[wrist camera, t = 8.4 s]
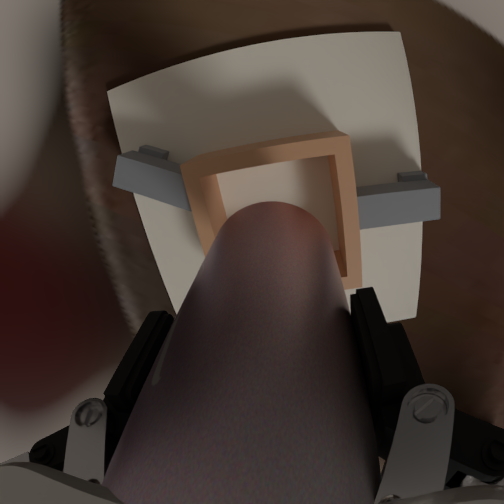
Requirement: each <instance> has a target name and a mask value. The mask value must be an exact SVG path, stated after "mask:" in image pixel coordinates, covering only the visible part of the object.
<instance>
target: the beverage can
mask: <svg viewBox="0 0 504 504" xmlns="http://www.w3.org/2000/svg"><path fill="white" fill-rule="evenodd" d="M380 482H381V473H380V465H379V458H378V450H377V444H376V437H375V431H374V425H373V419H372V413H371V408H370V403H369V397H368V392H367V387H366V382H365V377H364V372H363V367H362V362H361V358H360V353H359V349H358V344H357V340H356V335H355V331H354V327H353V323H352V319H351V314H350V310H349V306H348V302H347V298H346V294H345V291H344V287H343V283H342V279H341V276H340V272H339V268H338V265H337V261H336V258H335V254H334V251H333V247H332V244H331V241H330V238H329V236H328V233H327V232H326V230H325V228H324V227H323V225H322V224H321V223H320V222H319V221H318V220H317V219H316V218H315V217H314V216H313V215H312V214H310V213H309V212H307V211H306V210H304V209H302V208H300V207H298V206H295V205H293V204H289V203H285V202H278V201H266V202H259V203H255V204H251V205H249V206H246V207H244V208H242V209H240V210H238V211H237V212H235V213H234V214H233V215H232V216H230V217H229V218H228V219H227V220H226V222H225V223H224V224H223V225H222V227H221V228H220V230H219V232H218V234H217V236H216V238H215V240H214V241H213V243H212V245H211V247H210V249H209V251H208V253H207V255H206V257H205V259H204V261H203V263H202V265H201V267H200V269H199V271H198V273H197V275H196V277H195V279H194V281H193V283H192V285H191V287H190V289H189V291H188V293H187V295H186V297H185V299H184V301H183V303H182V305H181V307H180V309H179V311H178V313H177V315H176V317H175V320H174V322H173V324H172V326H171V328H170V330H169V332H168V334H167V336H166V338H165V340H164V343H163V345H162V347H161V349H160V351H159V353H158V355H157V357H156V360H155V362H154V364H153V366H152V368H151V370H150V373H149V375H148V377H147V379H146V381H145V384H144V386H143V388H142V390H141V392H140V395H139V397H138V399H137V401H136V404H135V406H134V408H133V410H132V413H131V415H130V417H129V419H128V422H127V424H126V426H125V429H124V431H123V433H122V436H121V438H120V440H119V443H118V445H117V447H116V450H115V452H114V455H113V457H112V459H111V462H110V464H109V467H108V469H107V471H106V474H105V476H104V479H103V481H102V484H101V486H104V487H108V488H109V490H110V491H111V492H112V493H113V494H114V495H115V496H116V497H117V498H118V499H119V500H121V501H122V502H124V503H125V504H375V503H374V502H375V499H376V495H377V492H378V489H379V485H380Z"/></svg>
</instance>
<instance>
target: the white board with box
mask: <svg viewBox="0 0 504 504" xmlns="http://www.w3.org/2000/svg"><path fill="white" fill-rule="evenodd" d="M107 94H108V99H109V103H110V108H111V112H112V116H113V120H114V124H115V129H116V133H117V136H118V140H119V144H120V148H121V152H122V154H120V155H118V156H117V162H116V168H115V173H114V180H113V186H115V187H118V188H121V189H124V190H127V191H130V192H133V194H134V197H135V200H136V203H137V206H138V210H139V213H140V216H141V219H142V222H143V225H144V228H145V231H146V234H147V237H148V240H149V243H150V246H151V249H152V251H153V254H154V257H155V260H156V263H157V265H158V268H159V271H160V273H161V276H162V279H163V281H164V284H165V287H166V289H167V292H168V294H169V297H170V300H171V302H172V305H173V307H174V310H175V312H176V314H177V313H178V311H179V309H180V307H181V305H182V303H183V301H184V299H185V297H186V295H187V293H188V291H189V289H190V287H191V285H192V283H193V281H194V279H195V277H196V275H197V273H198V271H199V269H200V267H201V265H202V263H203V261H204V259H205V257H206V255H207V253H208V251H209V249H210V247H211V245H212V243H213V241H214V240H215V238H216V236H217V234H218V232H219V230H220V228H221V227H222V225H223V224H224V223H225V222H226V220H227V219H228V218H229V217H230V216H232V215H233V214H234V213H235V212H237V211H238V210H240V209H242V208H244V207H246V206H249V205H251V204H255V203H259V202H266V201H278V202H285V203H289V204H293V205H295V206H298V207H300V208H302V209H304V210H306V211H307V212H309V213H310V214H312V215H313V216H314V217H315V218H316V219H317V220H318V221H319V222H320V223H321V224H322V225H323V227H324V228H325V230H326V232H327V233H328V236H329V238H330V241H331V244H332V247H333V251H334V254H335V258H336V261H337V265H338V268H339V272H340V276H341V279H342V283H343V287H344V291H345V294H346V298H347V302H348V306H349V310H350V314H351V309H350V294H356V289H360V288H367V287H373V288H374V291H375V293H376V296H377V298H378V301H379V303H380V306H381V309H382V311H383V314H384V317H385V319H386V322H392V321H398V320H403V319H409V318H414V317H416V313H417V304H418V294H419V284H420V270H421V253H422V221H429V220H436V219H440V187H439V186H437V185H436V184H434V183H432V182H431V181H429V180H427V174H426V173H424V172H423V171H421V160H420V148H419V137H418V127H417V119H416V111H415V104H414V98H413V91H412V85H411V80H410V74H409V69H408V64H407V59H406V55H405V50H404V46H403V42H402V38H401V34H400V32H349V33H334V34H322V35H313V36H304V37H296V38H289V39H283V40H276V41H270V42H265V43H259V44H254V45H249V46H245V47H240V48H236V49H231V50H227V51H223V52H219V53H215V54H211V55H208V56H204V57H200V58H197V59H194V60H190V61H187V62H184V63H180V64H177V65H174V66H171V67H168V68H165V69H162V70H159V71H157V72H154V73H151V74H148V75H146V76H143V77H140V78H138V79H135V80H133V81H130V82H128V83H125V84H123V85H121V86H118V87H116V88H114V89H111V90H109V91H107Z"/></svg>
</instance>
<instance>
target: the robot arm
mask: <svg viewBox="0 0 504 504" xmlns="http://www.w3.org/2000/svg"><path fill="white" fill-rule="evenodd" d="M350 309H351V319H352V323H353V327H354V331H355V335H356V340H357V344H358V349H359V353H360V358H361V362H362V367H363V372H364V377H365V382H366V387H367V392H368V397H369V403H370V408H371V413H372V419H373V425H374V431H375V437H376V444H377V450H378V456H379V457H381V458H383V459H384V460H385V462H384V465H383V469H382V472H381V482H380V485H379V489H378V492H377V495H376V499H375V502H374V503H375V504H504V429H502V428H500V427H497V426H495V425H492V424H490V423H487V422H485V421H482V420H480V419H478V418H475V417H473V416H471V415H468V414H466V413H464V412H461V411H459V410H457V409H455V405H454V399H453V397H452V395H451V393H450V392H449V391H448V390H447V389H445V388H443V387H441V386H439V385H435V384H425V382H424V379H423V377H422V374H421V371H420V368H419V366H418V363H417V360H416V358H415V355H414V353H413V350H412V348H411V345H410V343H409V340H408V338H407V335H406V333H405V330H404V328H403V326H402V324H401V323H400V322H398V323H393V324H387V322H386V319H385V317H384V314H383V311H382V309H381V306H380V303H379V301H378V298H377V296H376V293H375V291H374V288H373V287H367V288H360V289H356V294H350ZM173 322H174V318H173V316H172V315H171V314H168V313H167V312H166V311H152V312H150V313H149V314H148V316H147V317H146V319H145V321H144V322H143V324H142V326H141V327H140V329H139V331H138V333H137V334H136V336H135V338H134V339H133V341H132V343H131V345H130V346H129V348H128V350H127V352H126V353H125V355H124V357H123V359H122V361H121V362H120V364H119V366H118V368H117V369H116V371H115V373H114V375H113V377H112V379H111V380H110V382H109V384H108V386H107V388H106V390H105V391H104V395H105V398H104V400H101V399H99V398H89V399H87V400H84V401H82V402H81V403H80V404H79V405H77V407H76V408H75V409H74V410H73V412H72V415H71V420H70V425H69V426H67V427H65V428H63V429H61V430H59V431H57V432H55V433H53V434H51V435H50V436H47V437H45V438H43V439H41V440H39V441H38V442H37V443H35V444H34V446H33V447H32V449H31V451H30V453H29V452H26V453H24V454H21V455H19V456H17V457H15V458H12V459H10V460H8V461H5V462H3V463H0V504H125V503H124V502H122V501H121V500H119V499H118V498H117V497H116V496H115V495H114V494H113V493H112V492H111V491H110V490H109V488H108V487H104V486H101V484H102V481H103V479H104V476H105V474H106V471H107V469H108V467H109V464H110V462H111V459H112V457H113V455H114V452H115V450H116V447H117V445H118V443H119V440H120V438H121V436H122V433H123V431H124V429H125V426H126V424H127V422H128V419H129V417H130V415H131V413H132V410H133V408H134V406H135V404H136V401H137V399H138V397H139V395H140V392H141V390H142V388H143V386H144V384H145V381H146V379H147V377H148V375H149V373H150V370H151V368H152V366H153V364H154V362H155V360H156V357H157V355H158V353H159V351H160V349H161V347H162V345H163V343H164V340H165V338H166V336H167V334H168V332H169V330H170V328H171V326H172V324H173Z"/></svg>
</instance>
